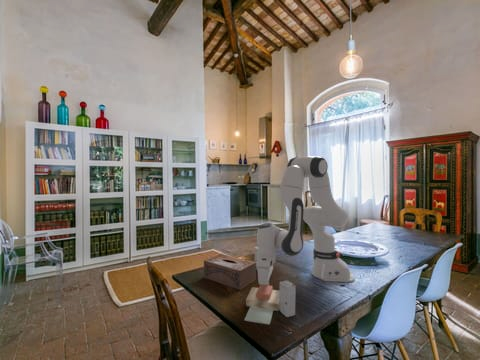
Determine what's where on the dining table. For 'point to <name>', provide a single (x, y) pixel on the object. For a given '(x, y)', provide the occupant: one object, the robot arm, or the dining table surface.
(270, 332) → the dining table surface
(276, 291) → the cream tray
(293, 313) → the skincare box
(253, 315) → the mat
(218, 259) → the tissue box cover
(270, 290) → the pink tray
